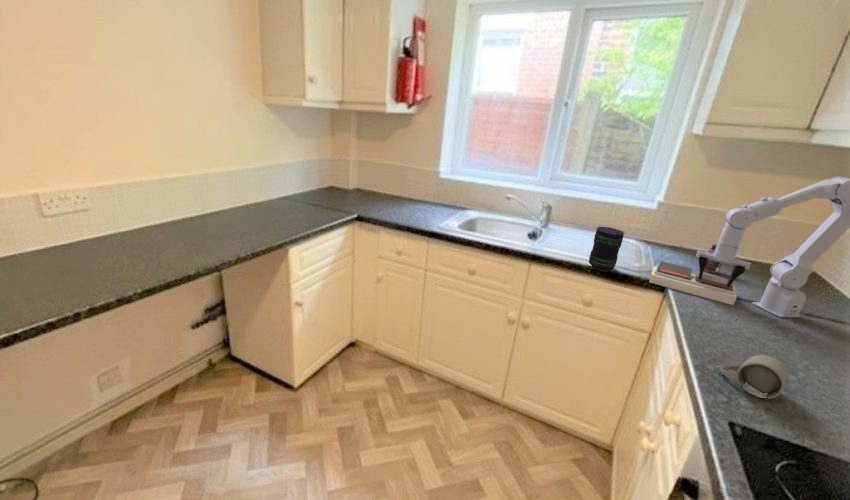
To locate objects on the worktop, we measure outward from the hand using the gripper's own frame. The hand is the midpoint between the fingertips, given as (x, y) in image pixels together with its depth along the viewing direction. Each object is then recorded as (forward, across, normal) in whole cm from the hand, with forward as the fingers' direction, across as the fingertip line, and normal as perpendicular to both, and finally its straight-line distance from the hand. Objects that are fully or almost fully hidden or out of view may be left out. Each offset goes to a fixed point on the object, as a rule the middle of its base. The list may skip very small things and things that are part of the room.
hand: (713, 282), depth 131 cm
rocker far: (0, +12, -3) cm, 12 cm away
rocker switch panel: (+5, +6, -3) cm, 8 cm away
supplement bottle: (+5, -1, -32) cm, 32 cm away
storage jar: (+6, +35, 0) cm, 36 cm away
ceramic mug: (+6, -7, +56) cm, 56 cm away
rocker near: (0, 0, -3) cm, 3 cm away
